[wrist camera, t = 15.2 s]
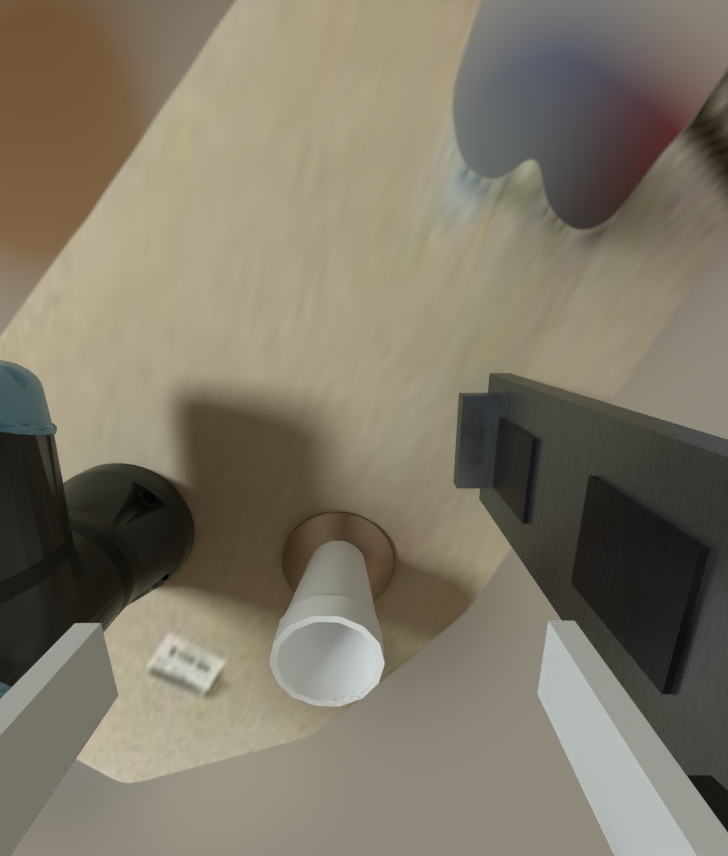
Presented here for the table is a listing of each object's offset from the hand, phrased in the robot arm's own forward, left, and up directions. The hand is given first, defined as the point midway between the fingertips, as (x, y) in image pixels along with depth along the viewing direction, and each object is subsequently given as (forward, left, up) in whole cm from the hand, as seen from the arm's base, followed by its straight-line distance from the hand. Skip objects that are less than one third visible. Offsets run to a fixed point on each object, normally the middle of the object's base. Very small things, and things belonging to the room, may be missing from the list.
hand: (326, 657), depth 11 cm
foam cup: (-2, -17, -28) cm, 33 cm away
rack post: (+13, -2, -29) cm, 32 cm away
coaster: (-2, -17, -29) cm, 33 cm away
